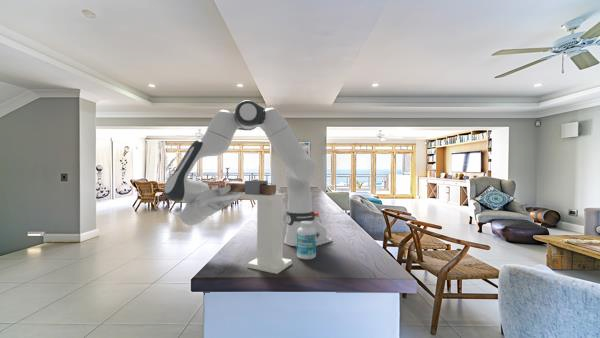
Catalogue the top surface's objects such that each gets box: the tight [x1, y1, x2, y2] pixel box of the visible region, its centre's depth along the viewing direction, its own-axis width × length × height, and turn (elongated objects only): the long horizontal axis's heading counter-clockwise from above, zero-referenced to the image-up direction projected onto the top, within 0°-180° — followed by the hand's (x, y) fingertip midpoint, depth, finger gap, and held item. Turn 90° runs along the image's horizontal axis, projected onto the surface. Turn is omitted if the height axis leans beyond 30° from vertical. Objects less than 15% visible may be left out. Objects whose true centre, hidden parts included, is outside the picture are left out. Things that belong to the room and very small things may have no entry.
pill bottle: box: [296, 221, 317, 260], centre depth 105 cm, size 8×7×14 cm
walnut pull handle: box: [226, 182, 277, 194], centre depth 99 cm, size 20×3×3 cm, turn 63°
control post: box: [240, 179, 293, 275], centre depth 96 cm, size 15×10×30 cm, turn 63°
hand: (234, 186), depth 102 cm, fingers closed on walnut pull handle, 3 cm apart
